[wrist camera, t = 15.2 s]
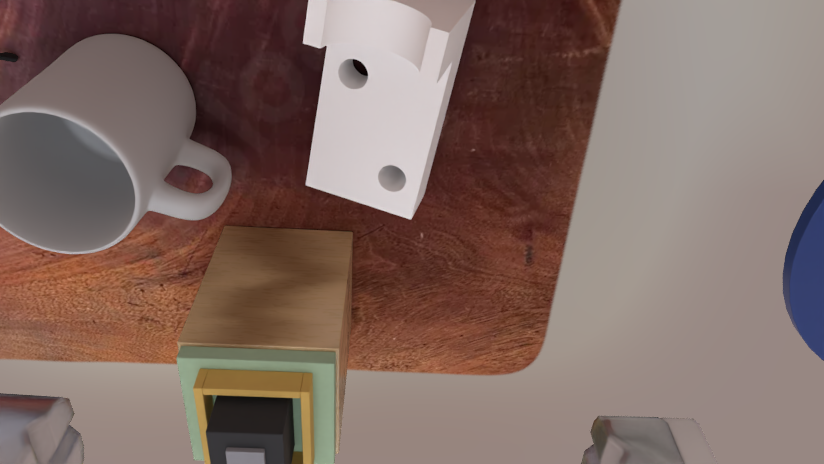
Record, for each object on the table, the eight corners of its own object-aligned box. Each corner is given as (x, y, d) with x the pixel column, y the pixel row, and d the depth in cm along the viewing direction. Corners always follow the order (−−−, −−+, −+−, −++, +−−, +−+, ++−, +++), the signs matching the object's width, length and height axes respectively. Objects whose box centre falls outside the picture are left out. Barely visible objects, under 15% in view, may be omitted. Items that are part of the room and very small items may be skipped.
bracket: (358, -34, 39) (309, -9, 33) (475, 0, 39) (449, 32, 32) (324, 162, 46) (279, 214, 40) (424, 194, 46) (394, 252, 39)
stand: (352, 231, 48) (339, 348, 38) (351, 327, 53) (338, 454, 43) (224, 225, 48) (176, 342, 38) (234, 322, 53) (194, 449, 43)
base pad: (335, 351, 38) (331, 384, 36) (335, 452, 43) (332, 486, 41) (180, 345, 38) (167, 378, 36) (197, 447, 43) (187, 481, 41)
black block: (292, 385, 38) (282, 439, 35) (294, 444, 41) (285, 499, 38) (220, 382, 38) (203, 436, 35) (227, 441, 41) (213, 497, 38)
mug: (47, 130, 44) (-48, 222, 35) (70, 7, 40) (-31, 75, 30) (228, 197, 47) (186, 299, 37) (268, 89, 42) (231, 174, 33)
